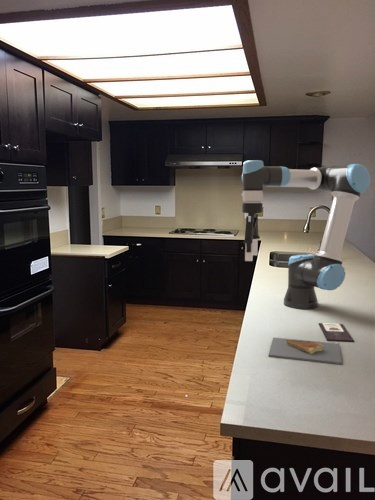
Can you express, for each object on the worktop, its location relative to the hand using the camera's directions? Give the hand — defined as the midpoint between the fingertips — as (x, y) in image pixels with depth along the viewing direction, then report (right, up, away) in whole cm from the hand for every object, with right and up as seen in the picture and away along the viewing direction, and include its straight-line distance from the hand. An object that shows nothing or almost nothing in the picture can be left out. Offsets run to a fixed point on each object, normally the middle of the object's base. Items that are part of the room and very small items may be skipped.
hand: (251, 258), depth 157 cm
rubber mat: (+14, -30, -22) cm, 40 cm away
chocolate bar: (+30, -28, -5) cm, 42 cm away
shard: (+14, -30, -22) cm, 40 cm away
